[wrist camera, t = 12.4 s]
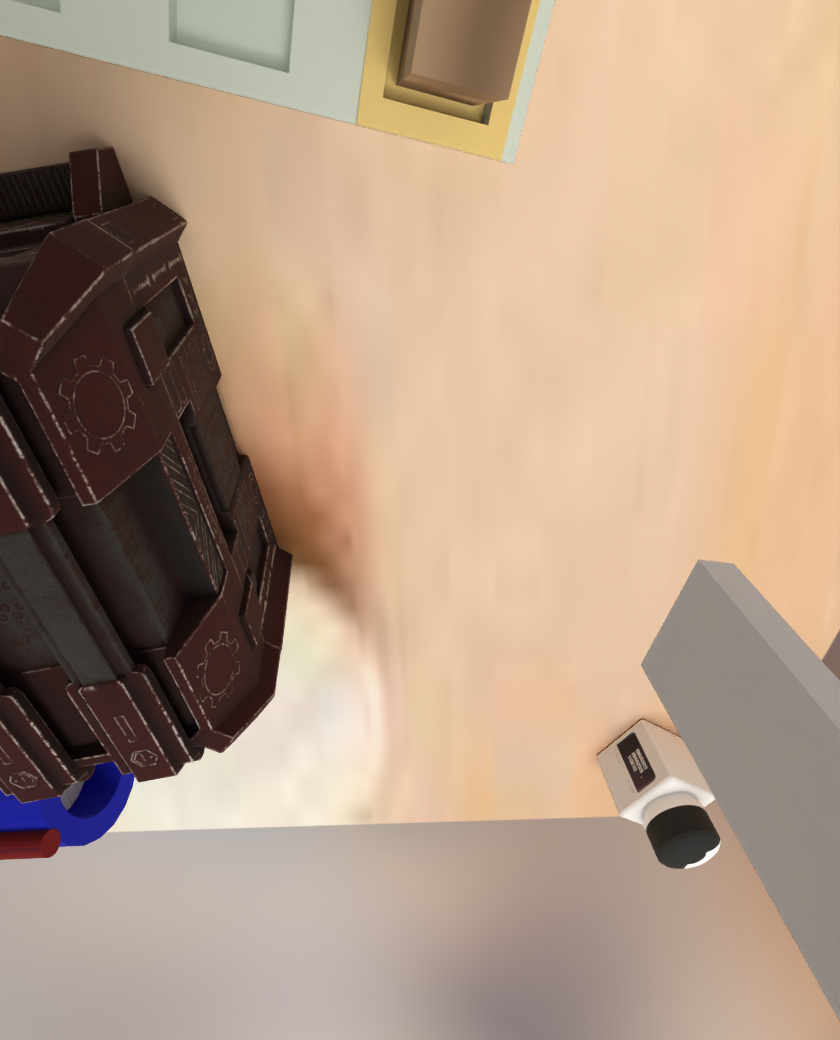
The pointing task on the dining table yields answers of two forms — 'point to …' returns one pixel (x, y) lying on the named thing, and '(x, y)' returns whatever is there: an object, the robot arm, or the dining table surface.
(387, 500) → the dining table surface
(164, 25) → the sorting tray
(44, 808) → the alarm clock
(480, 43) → the walnut block
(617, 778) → the container
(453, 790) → the dining table surface
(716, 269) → the dining table surface
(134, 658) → the crate
